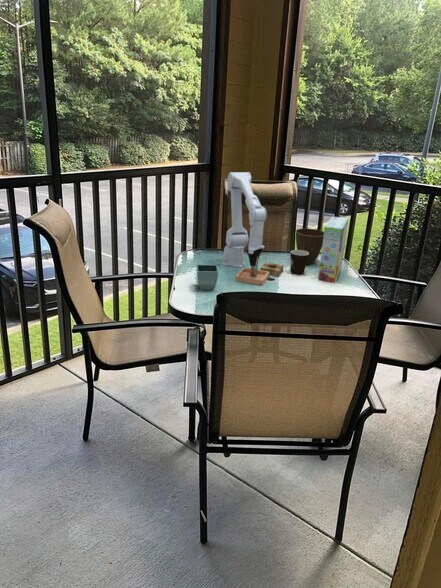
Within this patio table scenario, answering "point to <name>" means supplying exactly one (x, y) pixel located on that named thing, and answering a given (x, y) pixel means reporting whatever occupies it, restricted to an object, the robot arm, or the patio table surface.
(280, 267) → the block
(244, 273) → the dish
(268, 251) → the patio table surface
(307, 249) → the plant pot
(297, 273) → the coffee mug
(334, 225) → the snack box
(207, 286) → the flower pot
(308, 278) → the patio table surface
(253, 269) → the pin
